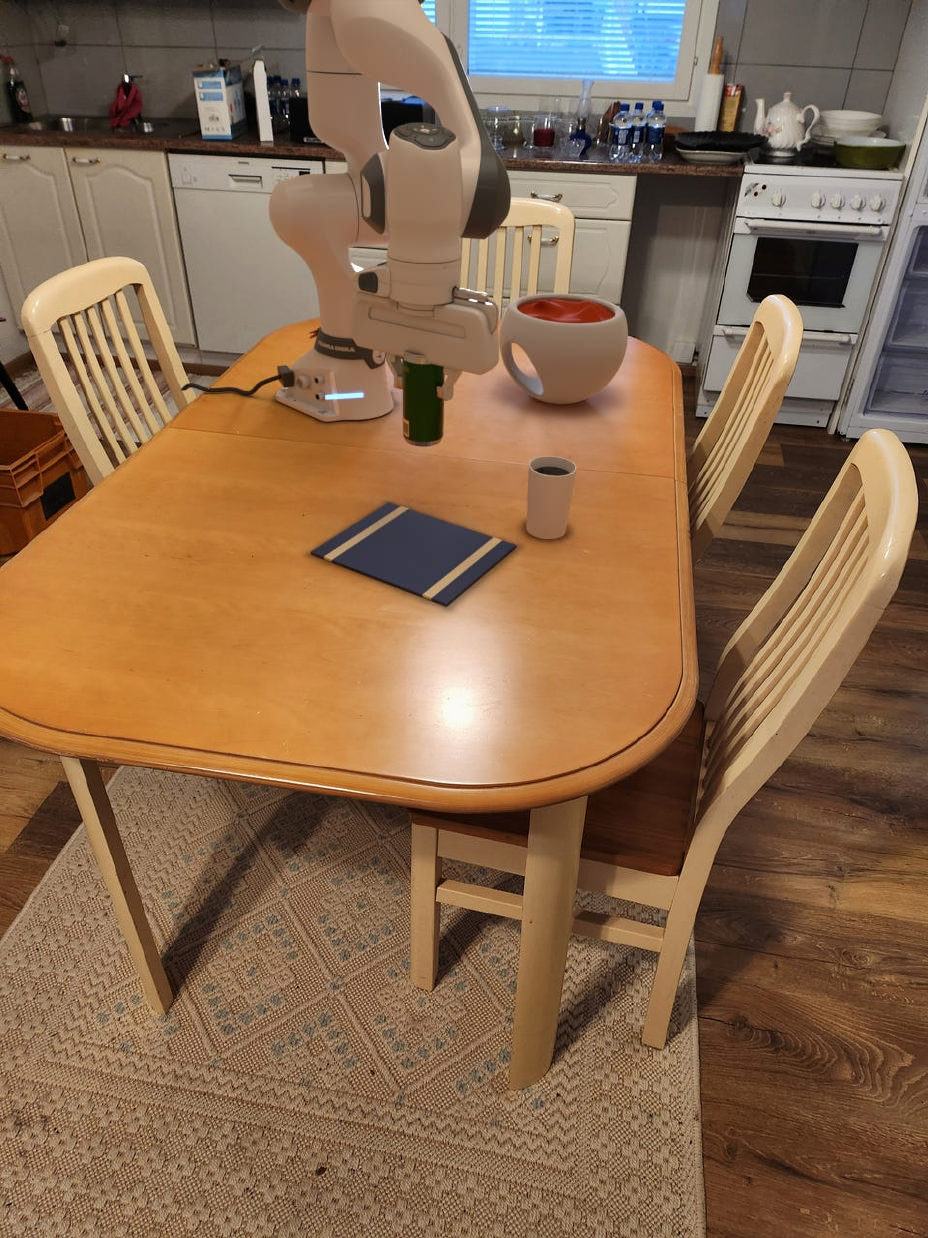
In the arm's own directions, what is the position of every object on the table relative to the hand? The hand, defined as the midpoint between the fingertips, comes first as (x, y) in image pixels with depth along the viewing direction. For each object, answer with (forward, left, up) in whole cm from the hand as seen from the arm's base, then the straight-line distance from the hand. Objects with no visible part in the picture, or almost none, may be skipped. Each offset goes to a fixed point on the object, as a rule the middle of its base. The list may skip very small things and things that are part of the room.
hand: (423, 393), depth 111 cm
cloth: (+2, -5, -21) cm, 21 cm away
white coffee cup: (+14, +11, -21) cm, 28 cm away
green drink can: (0, 0, -7) cm, 6 cm away
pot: (-9, +60, -21) cm, 65 cm away
